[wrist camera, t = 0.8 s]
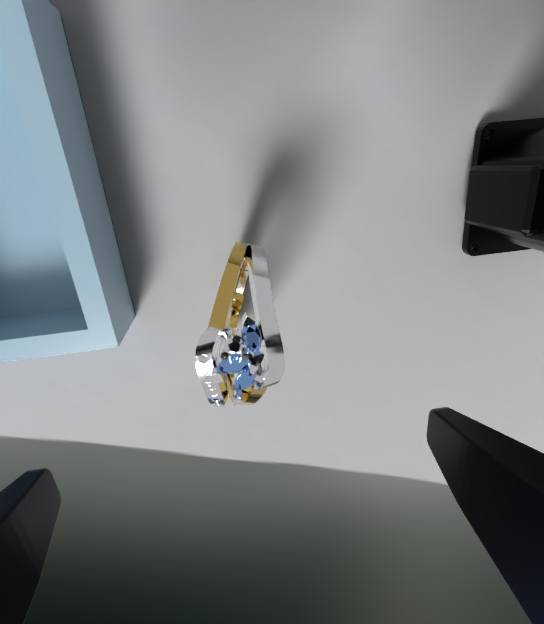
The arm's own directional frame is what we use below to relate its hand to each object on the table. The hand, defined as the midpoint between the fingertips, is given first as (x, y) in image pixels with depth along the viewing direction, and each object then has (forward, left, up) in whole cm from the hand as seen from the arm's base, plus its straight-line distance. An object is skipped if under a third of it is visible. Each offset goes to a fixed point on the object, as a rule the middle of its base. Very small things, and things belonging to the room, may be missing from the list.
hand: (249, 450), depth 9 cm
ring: (0, 0, -12) cm, 12 cm away
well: (+9, -6, -12) cm, 16 cm away
